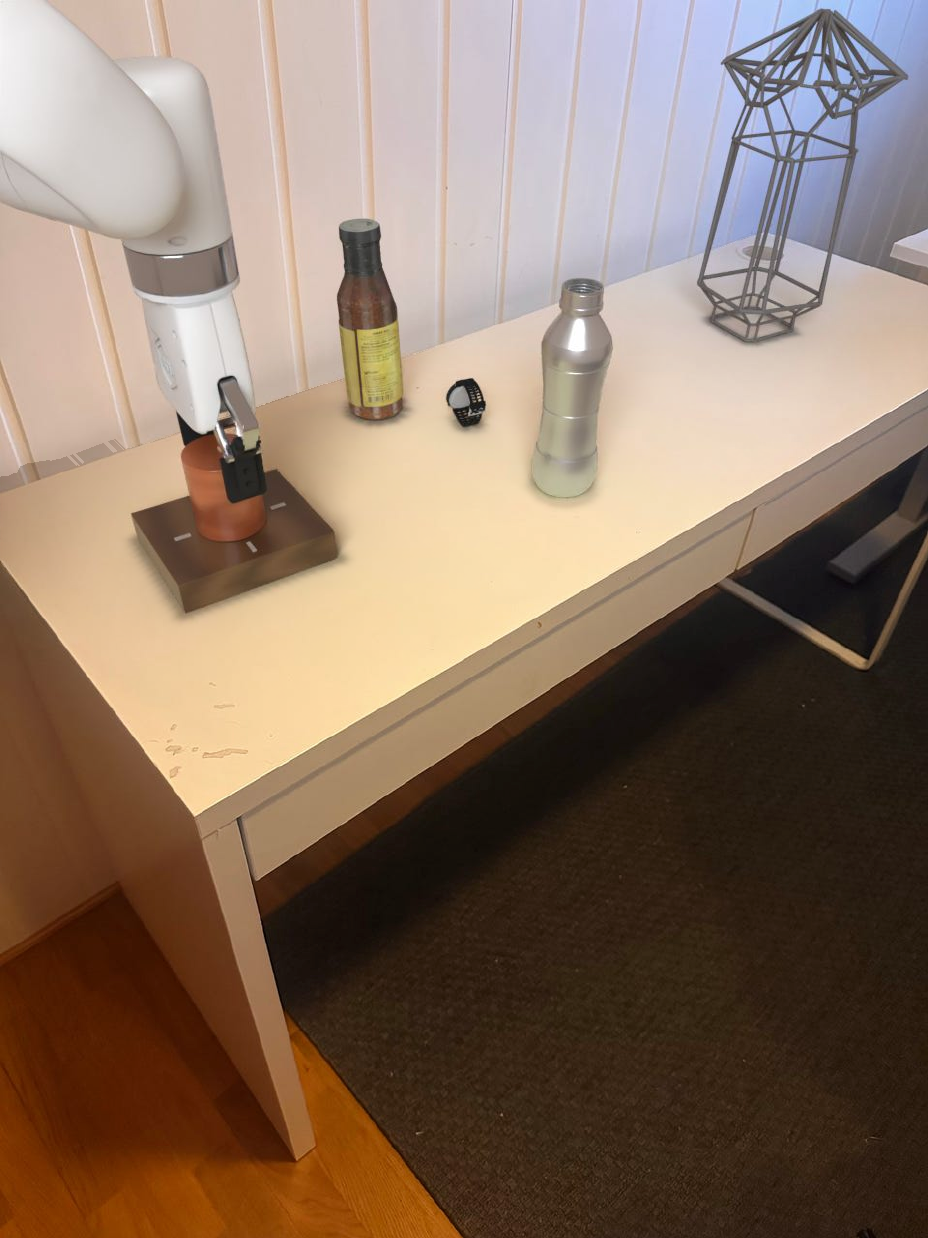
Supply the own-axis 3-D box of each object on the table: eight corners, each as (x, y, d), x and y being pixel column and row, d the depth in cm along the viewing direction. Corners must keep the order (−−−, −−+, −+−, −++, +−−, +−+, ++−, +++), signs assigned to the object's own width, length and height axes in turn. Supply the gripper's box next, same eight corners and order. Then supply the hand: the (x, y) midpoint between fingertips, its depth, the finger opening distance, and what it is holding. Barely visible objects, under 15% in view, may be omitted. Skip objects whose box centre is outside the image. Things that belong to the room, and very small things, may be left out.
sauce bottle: (413, 403, 101) (408, 219, 88) (387, 427, 97) (378, 238, 84) (362, 391, 103) (350, 210, 90) (335, 415, 99) (318, 228, 86)
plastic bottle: (520, 497, 87) (533, 293, 74) (542, 463, 92) (558, 266, 79) (583, 512, 85) (609, 306, 72) (602, 476, 90) (630, 278, 77)
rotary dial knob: (211, 549, 75) (195, 475, 70) (186, 515, 79) (169, 442, 74) (277, 527, 78) (266, 454, 73) (249, 495, 81) (237, 423, 76)
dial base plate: (185, 613, 74) (177, 584, 71) (138, 540, 81) (130, 511, 79) (337, 558, 79) (334, 529, 77) (280, 494, 87) (276, 466, 85)
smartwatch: (482, 412, 100) (483, 371, 96) (485, 436, 96) (487, 393, 93) (445, 413, 100) (445, 371, 96) (447, 436, 96) (447, 393, 92)
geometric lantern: (669, 313, 121) (721, 2, 98) (761, 295, 127) (832, -4, 103) (742, 360, 111) (820, 23, 88) (840, 338, 116) (938, 16, 93)
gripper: (94, 236, 67) (146, 436, 79) (174, 318, 57) (221, 535, 68) (190, 219, 70) (226, 414, 82) (283, 292, 60) (310, 505, 71)
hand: (224, 469), depth 75 cm, fingers open, 9 cm apart
